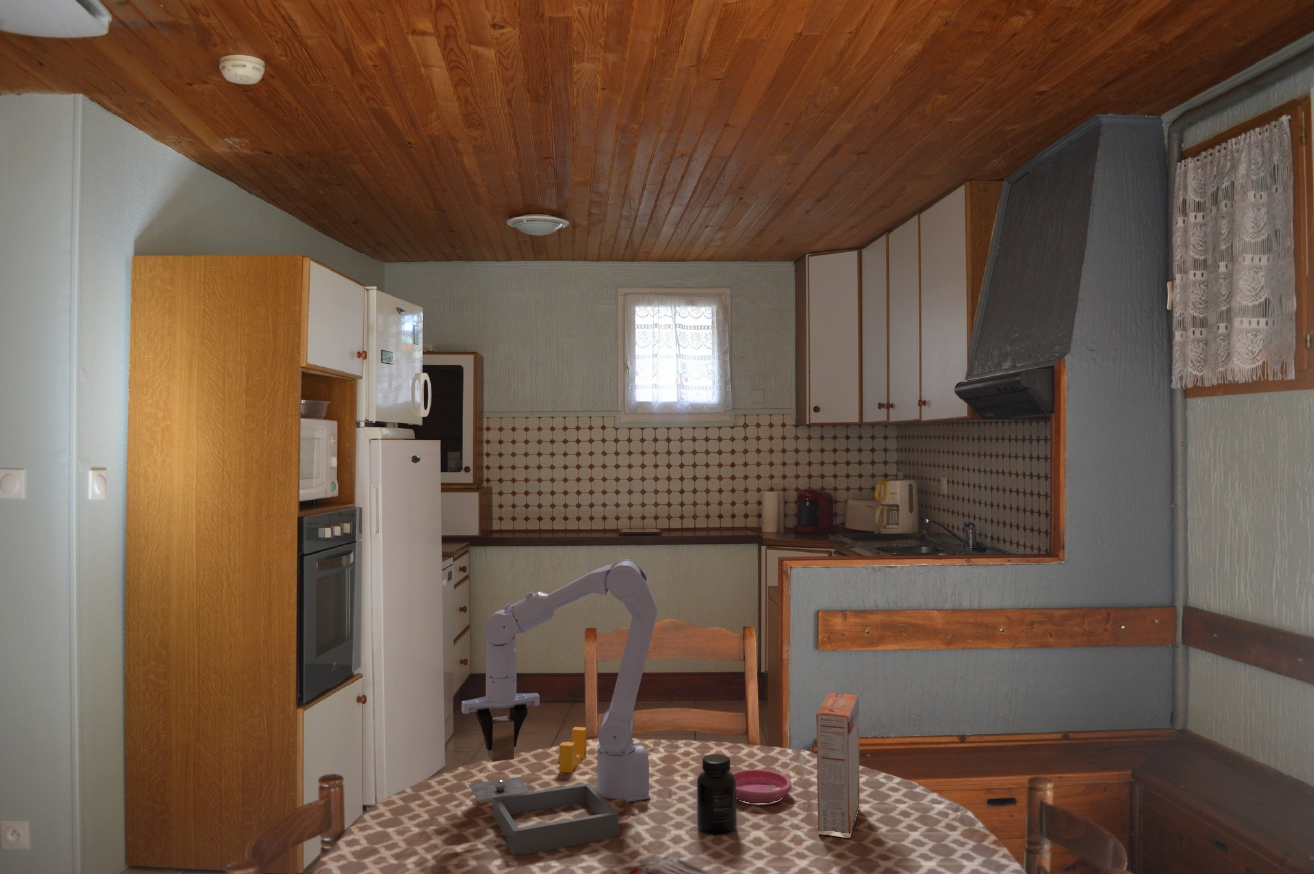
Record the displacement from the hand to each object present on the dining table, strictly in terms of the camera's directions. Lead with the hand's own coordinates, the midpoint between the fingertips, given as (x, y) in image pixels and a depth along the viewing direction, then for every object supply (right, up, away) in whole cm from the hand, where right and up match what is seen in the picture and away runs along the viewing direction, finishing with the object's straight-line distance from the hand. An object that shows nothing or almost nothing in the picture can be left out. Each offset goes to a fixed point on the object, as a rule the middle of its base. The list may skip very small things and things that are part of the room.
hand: (500, 747), depth 168 cm
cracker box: (+62, -9, -12) cm, 63 cm away
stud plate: (0, -9, 0) cm, 9 cm away
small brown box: (0, -2, 0) cm, 2 cm away
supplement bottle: (+40, -9, -14) cm, 43 cm away
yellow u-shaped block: (+11, -10, +15) cm, 21 cm away
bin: (+12, -9, -15) cm, 21 cm away
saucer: (+49, -10, 0) cm, 50 cm away
